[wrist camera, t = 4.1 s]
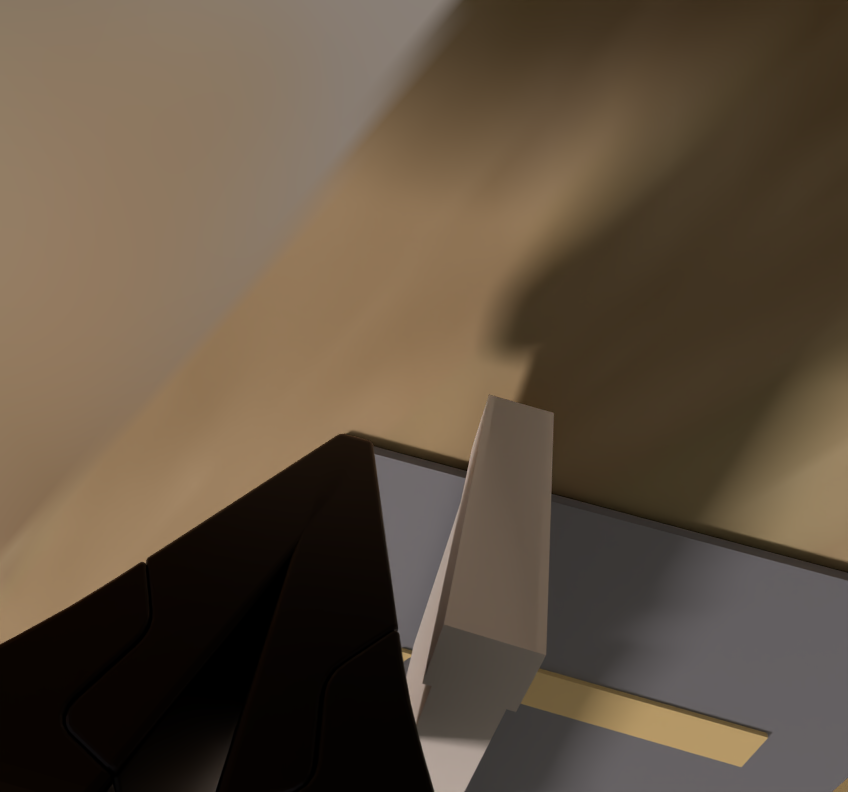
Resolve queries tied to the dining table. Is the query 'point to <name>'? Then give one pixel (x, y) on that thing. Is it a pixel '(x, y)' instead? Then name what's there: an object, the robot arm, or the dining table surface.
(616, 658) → the board
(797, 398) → the dining table surface
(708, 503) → the dining table surface
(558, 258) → the dining table surface
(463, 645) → the swing panel
